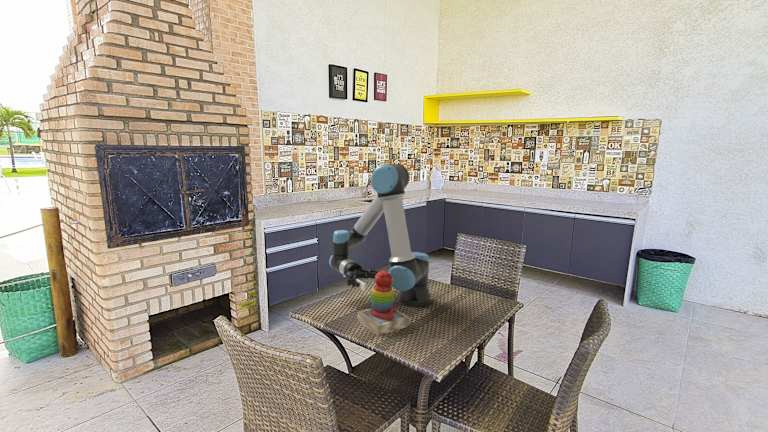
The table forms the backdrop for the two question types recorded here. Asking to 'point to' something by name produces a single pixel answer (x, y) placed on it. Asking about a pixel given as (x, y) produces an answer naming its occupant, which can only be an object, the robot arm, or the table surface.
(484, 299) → the table surface
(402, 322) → the plinth
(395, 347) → the table surface
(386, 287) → the stacking bear
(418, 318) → the table surface
